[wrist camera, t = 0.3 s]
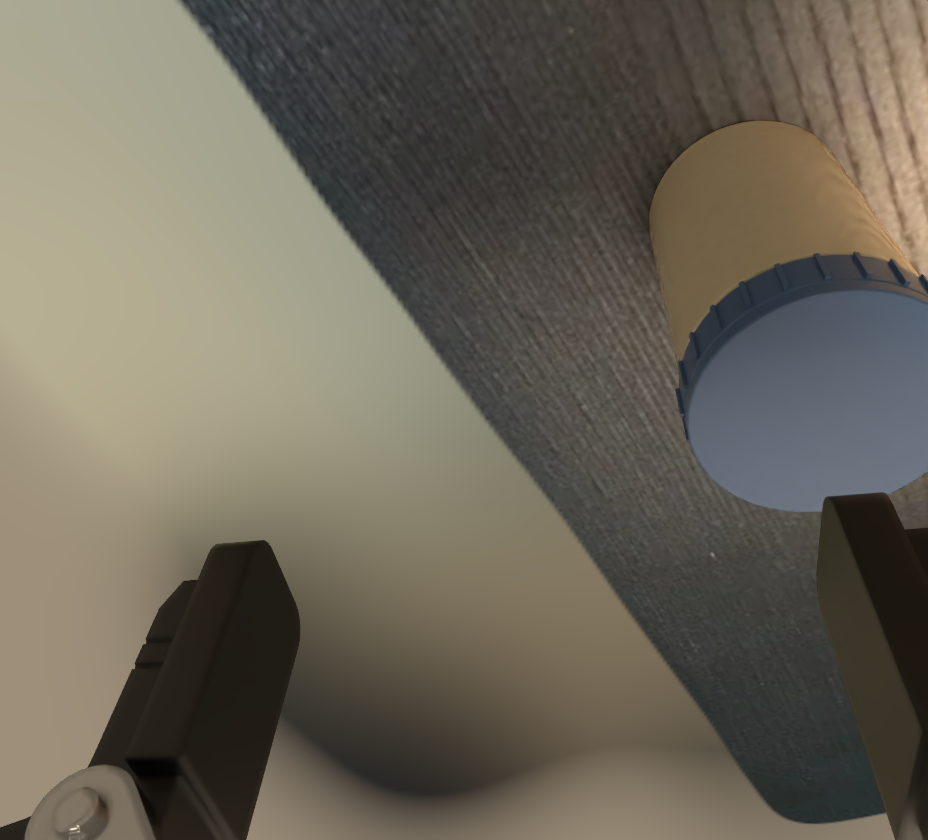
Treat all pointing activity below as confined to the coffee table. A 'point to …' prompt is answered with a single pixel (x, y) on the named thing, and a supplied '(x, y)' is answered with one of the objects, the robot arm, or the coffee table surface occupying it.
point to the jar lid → (811, 383)
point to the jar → (752, 216)
